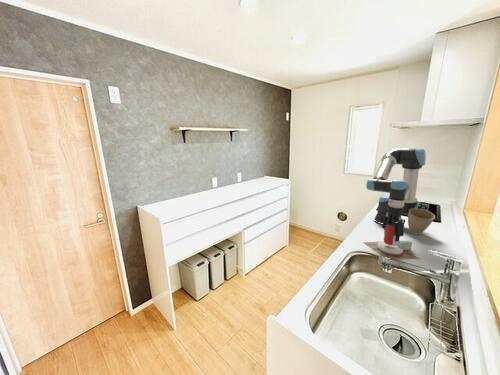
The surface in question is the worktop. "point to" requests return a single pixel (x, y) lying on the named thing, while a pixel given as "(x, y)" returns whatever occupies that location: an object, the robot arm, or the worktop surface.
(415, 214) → the plant pot
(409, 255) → the board
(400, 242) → the white oval dish
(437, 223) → the worktop surface
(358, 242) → the worktop surface
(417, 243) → the worktop surface
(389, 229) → the beer can
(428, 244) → the worktop surface
